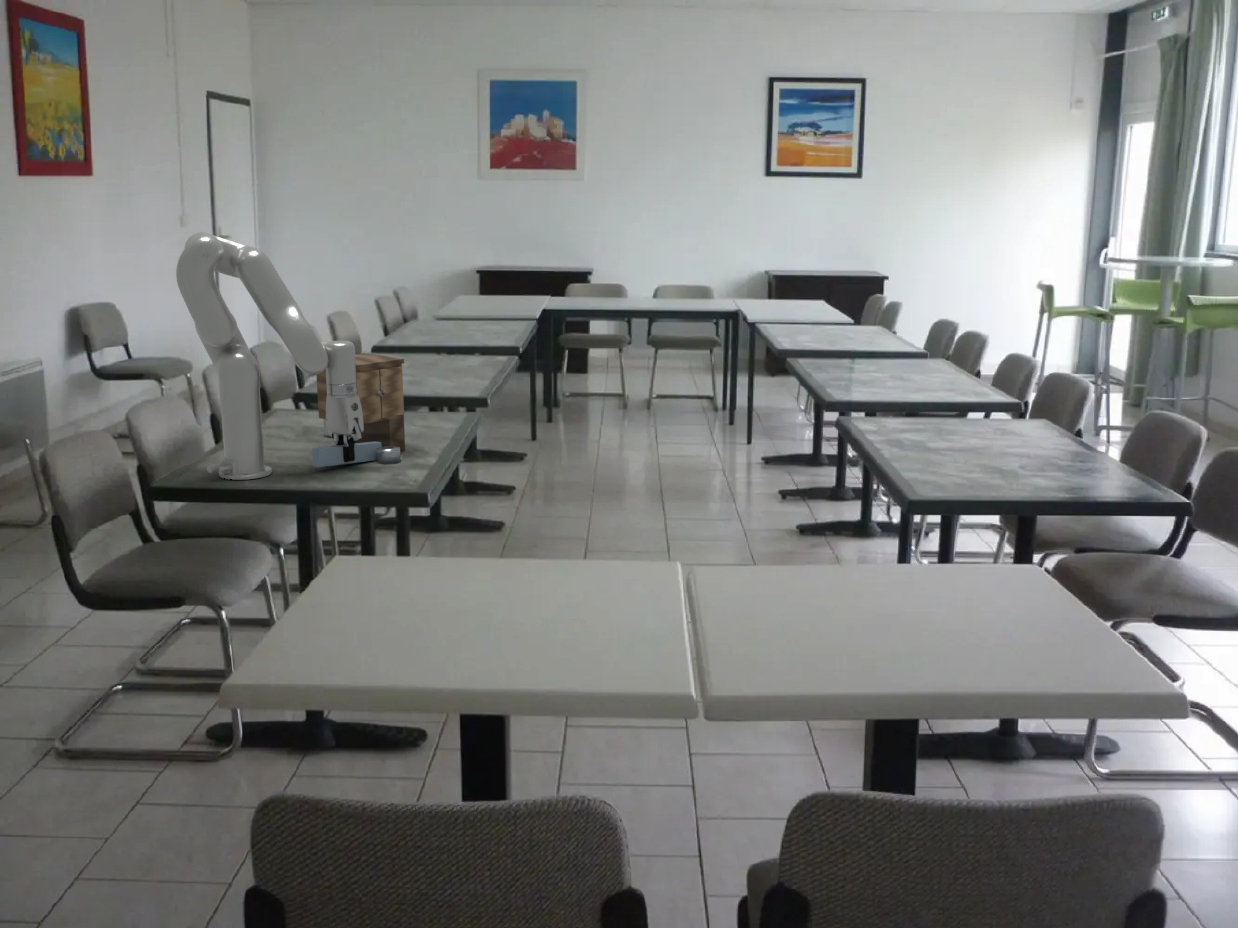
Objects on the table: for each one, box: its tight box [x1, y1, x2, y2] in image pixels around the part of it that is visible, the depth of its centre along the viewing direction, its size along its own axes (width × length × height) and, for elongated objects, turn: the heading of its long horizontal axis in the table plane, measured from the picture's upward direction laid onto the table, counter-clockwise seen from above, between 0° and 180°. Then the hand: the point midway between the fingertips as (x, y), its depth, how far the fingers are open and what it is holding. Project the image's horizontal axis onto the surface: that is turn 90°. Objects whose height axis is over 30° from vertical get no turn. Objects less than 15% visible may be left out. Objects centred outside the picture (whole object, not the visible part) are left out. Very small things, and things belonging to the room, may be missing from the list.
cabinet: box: [315, 352, 406, 453], centre depth 332 cm, size 17×18×25 cm
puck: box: [376, 446, 402, 465], centre depth 323 cm, size 6×6×4 cm
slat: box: [312, 441, 381, 468], centre depth 318 cm, size 20×2×4 cm, turn 140°
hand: (345, 459), depth 318 cm, fingers closed on slat, 2 cm apart
